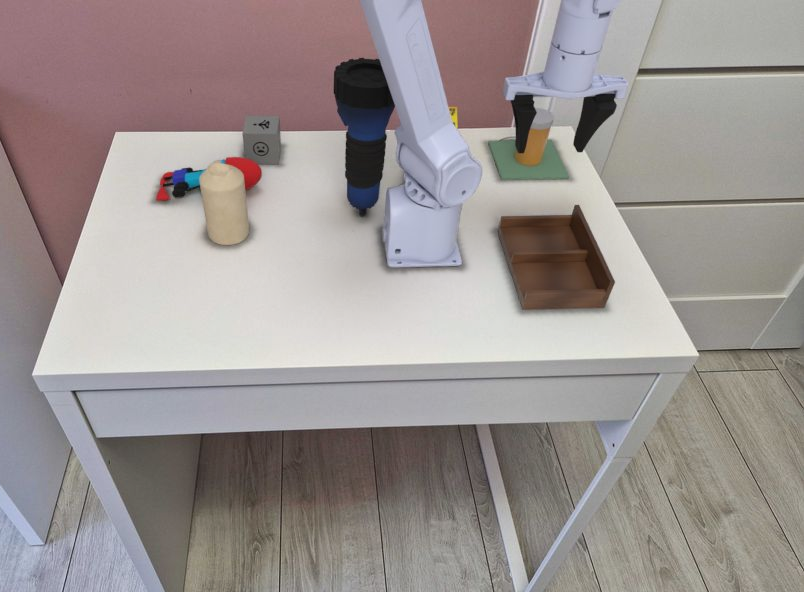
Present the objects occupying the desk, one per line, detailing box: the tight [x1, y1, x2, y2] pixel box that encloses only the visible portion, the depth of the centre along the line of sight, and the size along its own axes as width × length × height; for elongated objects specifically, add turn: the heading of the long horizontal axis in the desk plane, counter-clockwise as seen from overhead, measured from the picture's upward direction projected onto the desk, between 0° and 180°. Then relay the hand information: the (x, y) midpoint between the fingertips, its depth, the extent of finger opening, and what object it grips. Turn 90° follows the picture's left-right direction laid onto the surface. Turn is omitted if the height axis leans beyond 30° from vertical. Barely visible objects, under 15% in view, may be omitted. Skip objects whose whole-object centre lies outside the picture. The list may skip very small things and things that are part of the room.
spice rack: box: [497, 204, 616, 311], centre depth 87 cm, size 10×15×4 cm, turn 3°
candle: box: [199, 162, 250, 246], centre depth 89 cm, size 6×6×10 cm
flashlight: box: [333, 57, 396, 218], centre depth 88 cm, size 8×8×20 cm
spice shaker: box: [514, 107, 555, 166], centre depth 102 cm, size 4×4×7 cm
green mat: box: [487, 139, 570, 181], centre depth 105 cm, size 10×10×1 cm
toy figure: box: [155, 156, 263, 202], centre depth 97 cm, size 8×5×15 cm
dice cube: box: [241, 115, 282, 165], centre depth 103 cm, size 5×5×5 cm
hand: (548, 148), depth 90 cm, fingers open, 7 cm apart
